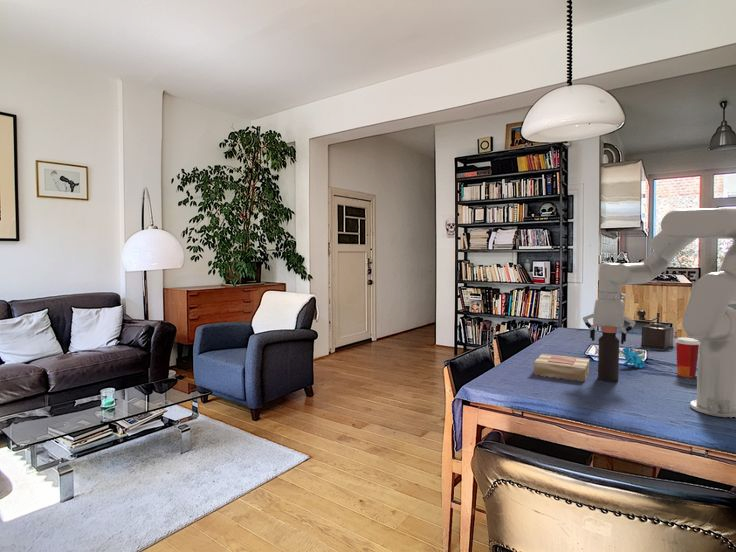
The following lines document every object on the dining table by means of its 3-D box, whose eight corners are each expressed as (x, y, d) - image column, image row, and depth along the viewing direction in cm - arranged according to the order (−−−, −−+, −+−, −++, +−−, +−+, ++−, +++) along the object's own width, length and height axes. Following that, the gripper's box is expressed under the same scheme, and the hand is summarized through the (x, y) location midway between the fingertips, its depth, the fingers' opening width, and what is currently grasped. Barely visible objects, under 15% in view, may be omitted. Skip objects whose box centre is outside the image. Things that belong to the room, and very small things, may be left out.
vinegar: (613, 376, 171) (614, 324, 169) (621, 381, 164) (623, 327, 163) (594, 376, 171) (595, 324, 170) (602, 381, 165) (603, 327, 163)
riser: (584, 381, 165) (585, 367, 164) (533, 374, 174) (533, 361, 174) (589, 371, 178) (589, 358, 178) (541, 365, 188) (542, 352, 187)
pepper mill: (649, 342, 230) (650, 307, 229) (673, 346, 221) (674, 309, 220) (633, 346, 222) (634, 310, 221) (658, 350, 213) (659, 312, 211)
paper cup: (693, 373, 174) (694, 337, 173) (702, 378, 167) (703, 341, 166) (670, 372, 176) (671, 336, 175) (678, 377, 169) (679, 340, 168)
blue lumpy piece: (635, 366, 178) (620, 345, 185) (623, 374, 182) (610, 353, 188) (652, 367, 183) (637, 346, 189) (641, 374, 187) (627, 354, 193)
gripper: (637, 296, 164) (634, 342, 166) (585, 293, 173) (583, 337, 175) (636, 299, 158) (634, 346, 159) (582, 295, 167) (580, 340, 169)
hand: (607, 341), depth 167 cm, fingers open, 9 cm apart
